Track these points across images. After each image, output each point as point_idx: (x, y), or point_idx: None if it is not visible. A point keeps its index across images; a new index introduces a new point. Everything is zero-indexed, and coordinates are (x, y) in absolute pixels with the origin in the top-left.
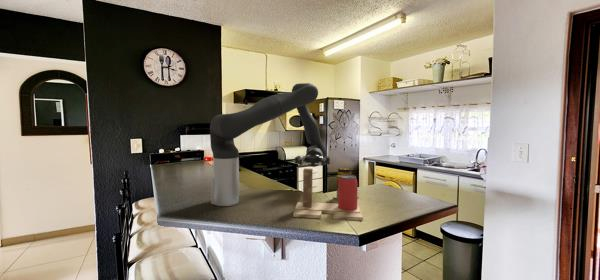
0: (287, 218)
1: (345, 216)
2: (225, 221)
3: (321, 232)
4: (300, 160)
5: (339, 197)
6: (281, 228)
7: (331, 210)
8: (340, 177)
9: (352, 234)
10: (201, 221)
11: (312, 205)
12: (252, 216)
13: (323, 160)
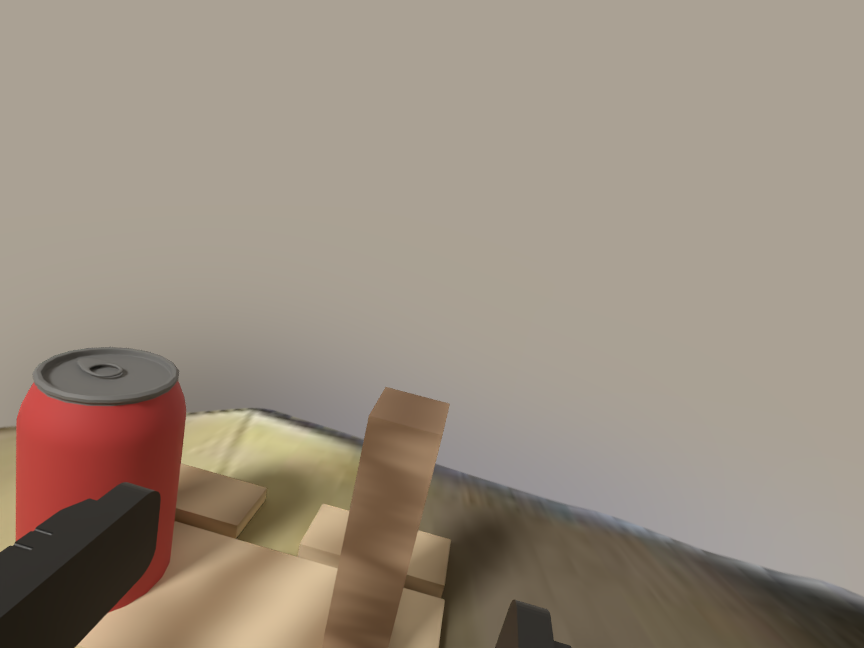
0: (470, 542)
1: (216, 474)
2: (702, 560)
3: (355, 438)
4: (527, 605)
5: (176, 497)
6: (479, 479)
7: (239, 540)
8: (177, 380)
9: (267, 414)
10: (787, 576)
11: (322, 639)
12: (633, 589)
13: (56, 544)
